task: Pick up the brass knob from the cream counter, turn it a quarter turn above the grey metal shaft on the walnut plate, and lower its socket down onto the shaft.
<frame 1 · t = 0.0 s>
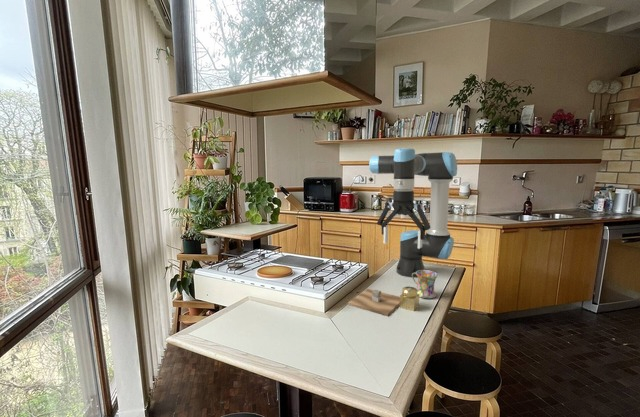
hand: (402, 245, 118), 28 cm above the table, fingers open, 13 cm apart
mug: (422, 295, 140), on the table
knob: (409, 306, 128), on the table
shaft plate: (376, 302, 133), on the table
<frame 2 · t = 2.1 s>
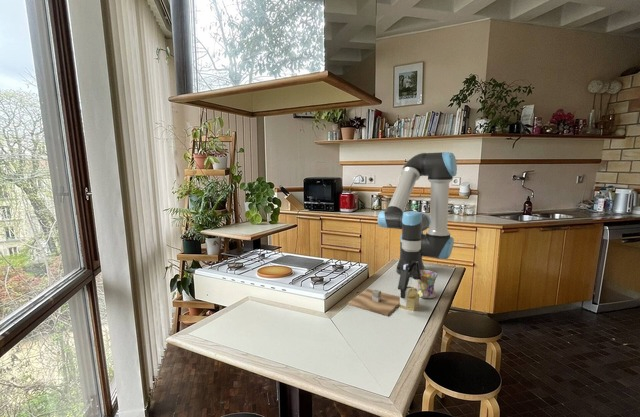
hand: (409, 299, 128), 3 cm above the table, fingers open, 13 cm apart
nothing on the table moved.
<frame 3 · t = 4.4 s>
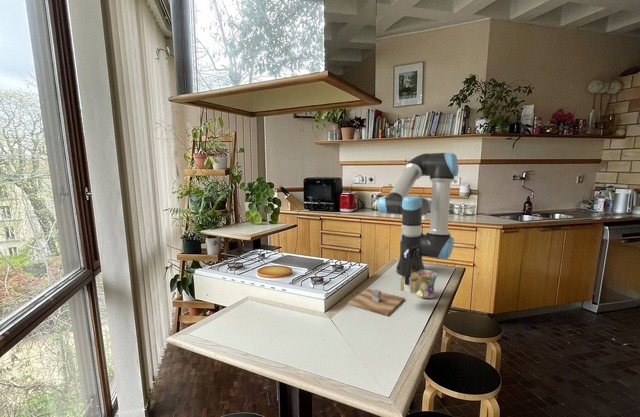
hand: (410, 288, 128), 8 cm above the table, fingers closed on knob, 6 cm apart
knob: (410, 289, 128), point 7 cm above the table, touching gripper
everything else where it was.
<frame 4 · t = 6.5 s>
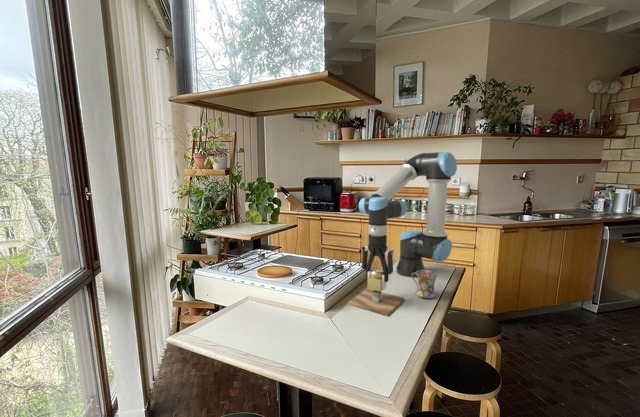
hand: (376, 286, 132), 7 cm above the table, fingers closed on knob, 6 cm apart
knob: (376, 287, 132), point 7 cm above the table, touching gripper
everything else where it was.
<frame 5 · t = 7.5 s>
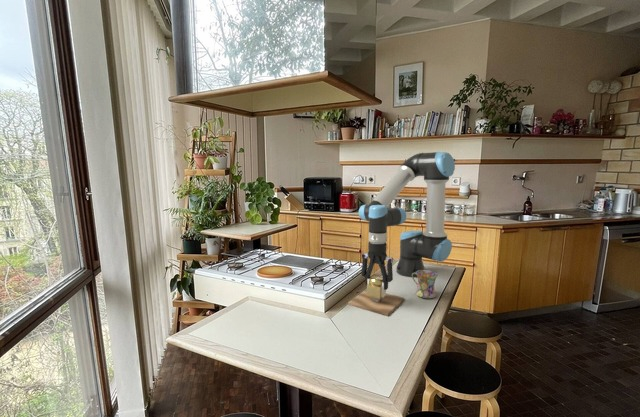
hand: (376, 294, 132), 4 cm above the table, fingers closed on knob, 6 cm apart
knob: (376, 295, 132), point 3 cm above the table, touching gripper
everything else where it was.
when the fingers open (2 cm above the table, at t = 8.6 s): knob stays where it is, resting on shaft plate.
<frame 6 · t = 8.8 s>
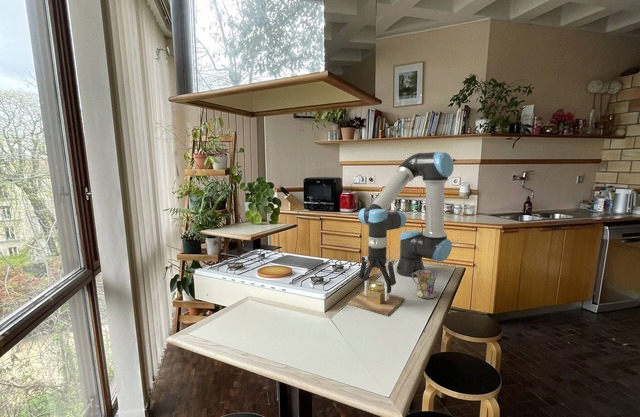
hand: (376, 296, 132), 2 cm above the table, fingers open, 9 cm apart
knob: (376, 300, 133), point 1 cm above the table, touching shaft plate
everything else where it was.
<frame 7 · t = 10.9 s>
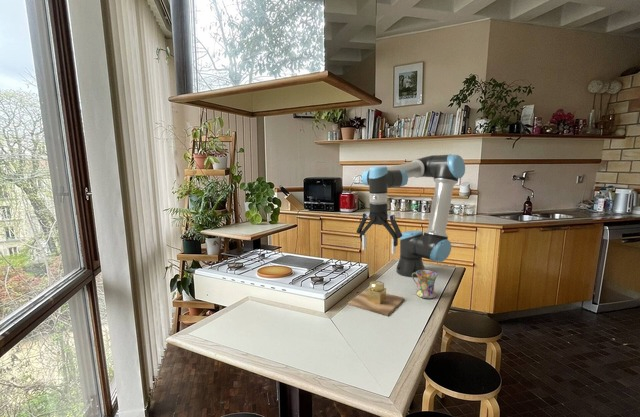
hand: (378, 251, 134), 22 cm above the table, fingers open, 13 cm apart
nothing on the table moved.
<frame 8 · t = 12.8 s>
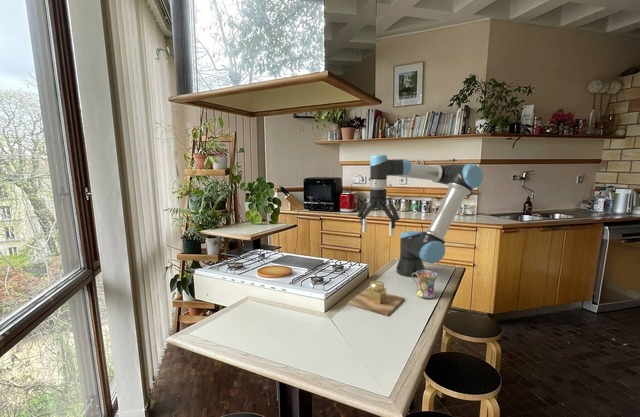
hand: (377, 233, 145), 27 cm above the table, fingers open, 13 cm apart
nothing on the table moved.
at the end: knob 0.0 cm off-centre on the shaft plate, point 1.0 cm above the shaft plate's base; knob tilted 0°; the gripper is holding nothing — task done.
